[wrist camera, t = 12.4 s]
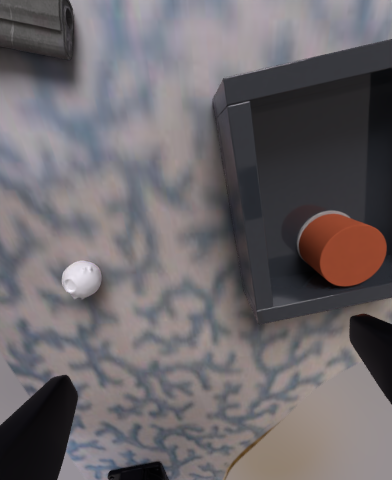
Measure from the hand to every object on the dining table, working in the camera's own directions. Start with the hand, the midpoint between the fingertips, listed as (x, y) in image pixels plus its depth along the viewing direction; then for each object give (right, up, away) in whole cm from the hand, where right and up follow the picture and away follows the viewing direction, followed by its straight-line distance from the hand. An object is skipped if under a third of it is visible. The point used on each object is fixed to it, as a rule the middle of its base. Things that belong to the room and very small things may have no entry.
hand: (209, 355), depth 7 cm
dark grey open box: (+9, +8, +11) cm, 16 cm away
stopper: (+10, +4, +11) cm, 15 cm away
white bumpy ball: (-9, +1, +12) cm, 15 cm away
